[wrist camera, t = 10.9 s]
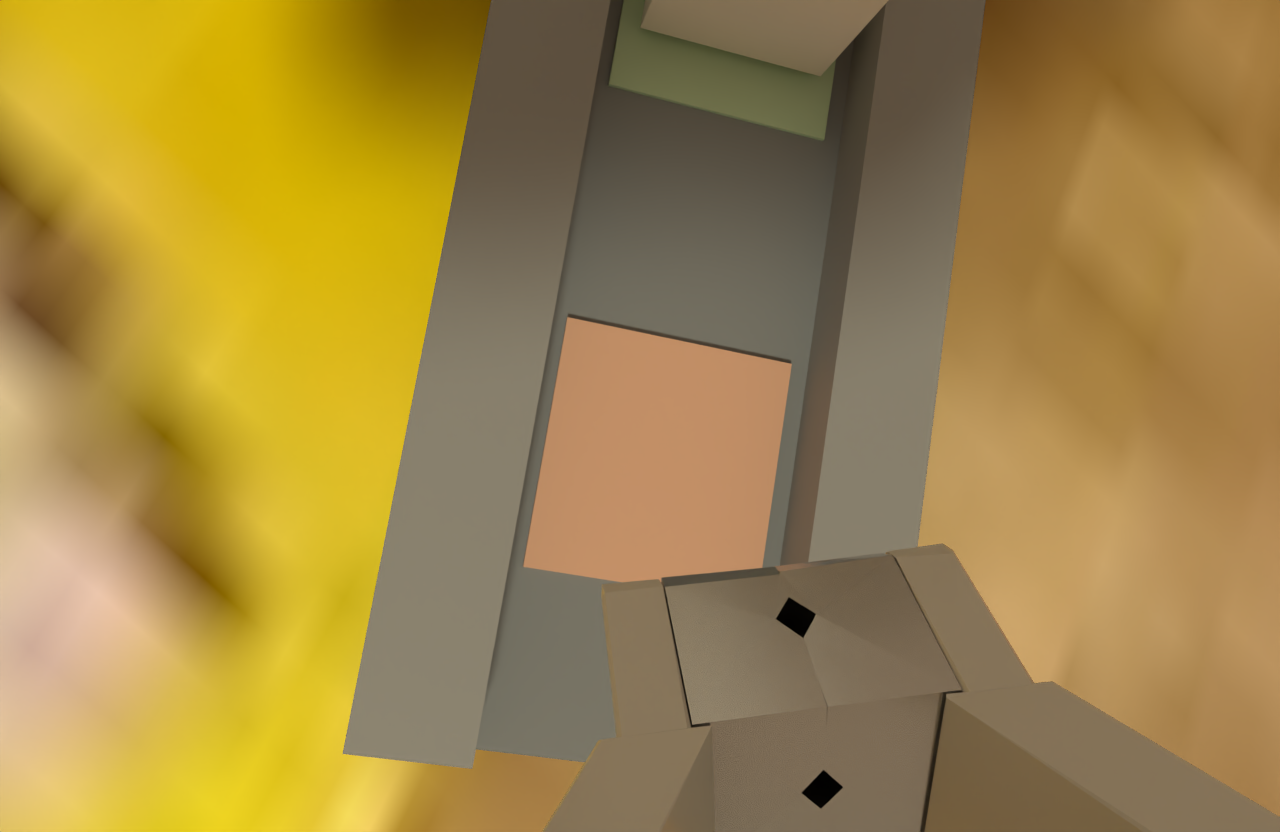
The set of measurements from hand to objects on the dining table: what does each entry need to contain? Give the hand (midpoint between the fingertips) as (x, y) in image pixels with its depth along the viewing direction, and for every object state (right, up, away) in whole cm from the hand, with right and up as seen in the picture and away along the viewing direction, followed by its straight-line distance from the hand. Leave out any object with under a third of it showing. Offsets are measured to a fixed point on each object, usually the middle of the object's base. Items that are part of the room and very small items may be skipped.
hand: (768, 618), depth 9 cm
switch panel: (-1, +5, +15) cm, 16 cm away
